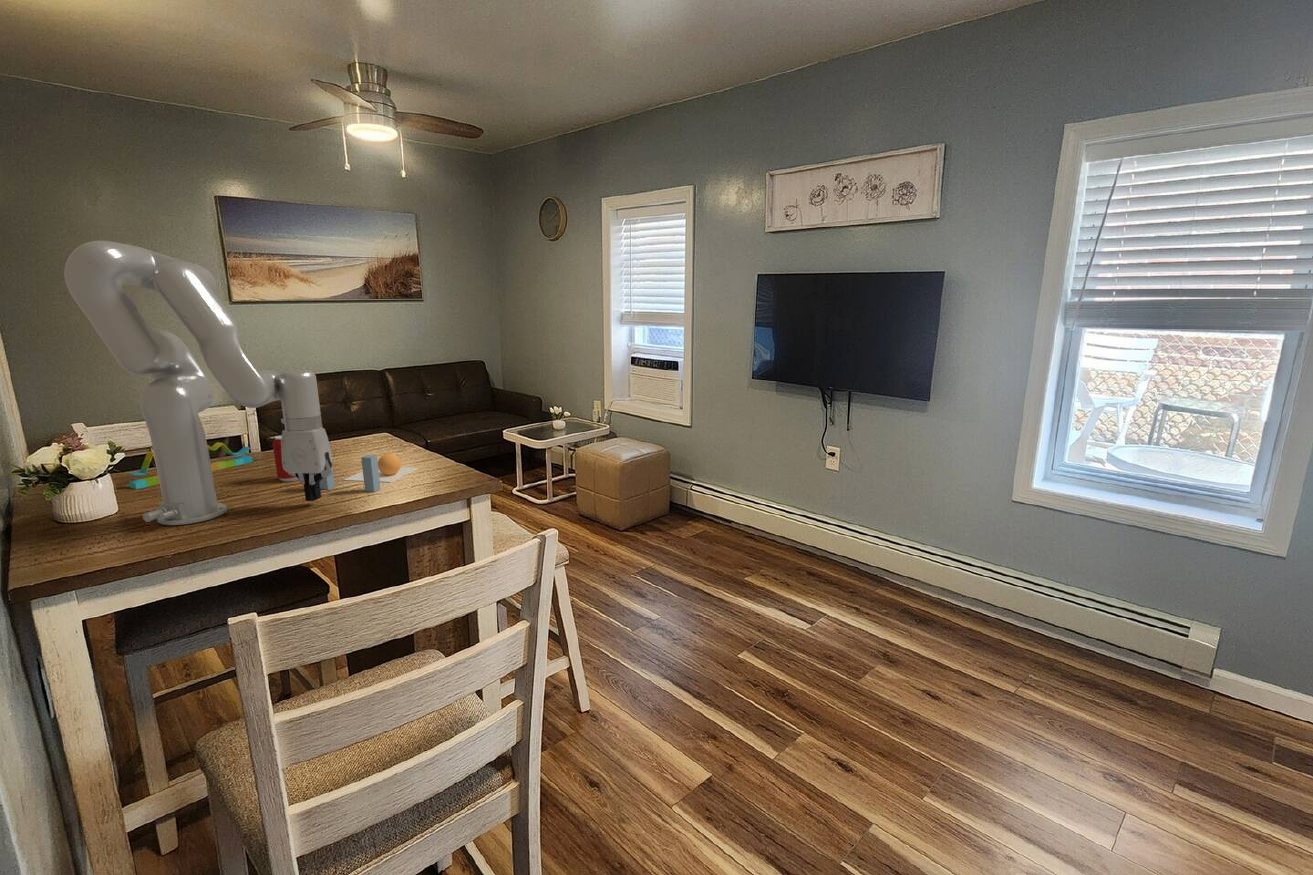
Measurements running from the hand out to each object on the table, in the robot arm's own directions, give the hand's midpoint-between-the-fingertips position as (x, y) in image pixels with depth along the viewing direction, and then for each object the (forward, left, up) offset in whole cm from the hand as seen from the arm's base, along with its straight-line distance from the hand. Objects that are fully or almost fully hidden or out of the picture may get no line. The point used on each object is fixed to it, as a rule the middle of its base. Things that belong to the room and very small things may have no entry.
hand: (313, 499), depth 145 cm
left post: (+13, +7, -2) cm, 15 cm away
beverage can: (+19, +22, -2) cm, 29 cm away
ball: (+27, -3, +2) cm, 27 cm away
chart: (+20, +54, -2) cm, 57 cm away
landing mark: (+27, 0, -2) cm, 27 cm away
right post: (+13, -7, -2) cm, 15 cm away
